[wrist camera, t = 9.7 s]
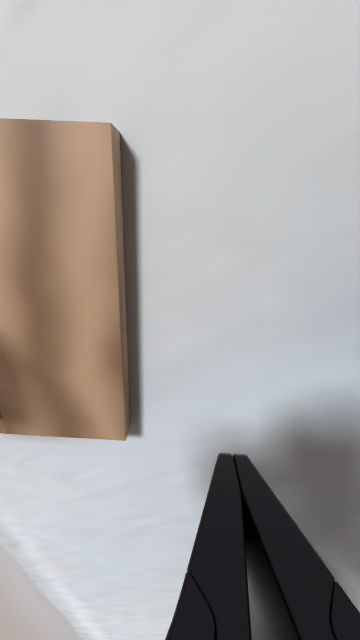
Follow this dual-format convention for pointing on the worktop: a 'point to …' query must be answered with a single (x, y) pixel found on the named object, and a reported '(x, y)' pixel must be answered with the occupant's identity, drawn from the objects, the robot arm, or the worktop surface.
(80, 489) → the worktop surface
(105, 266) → the walnut board
